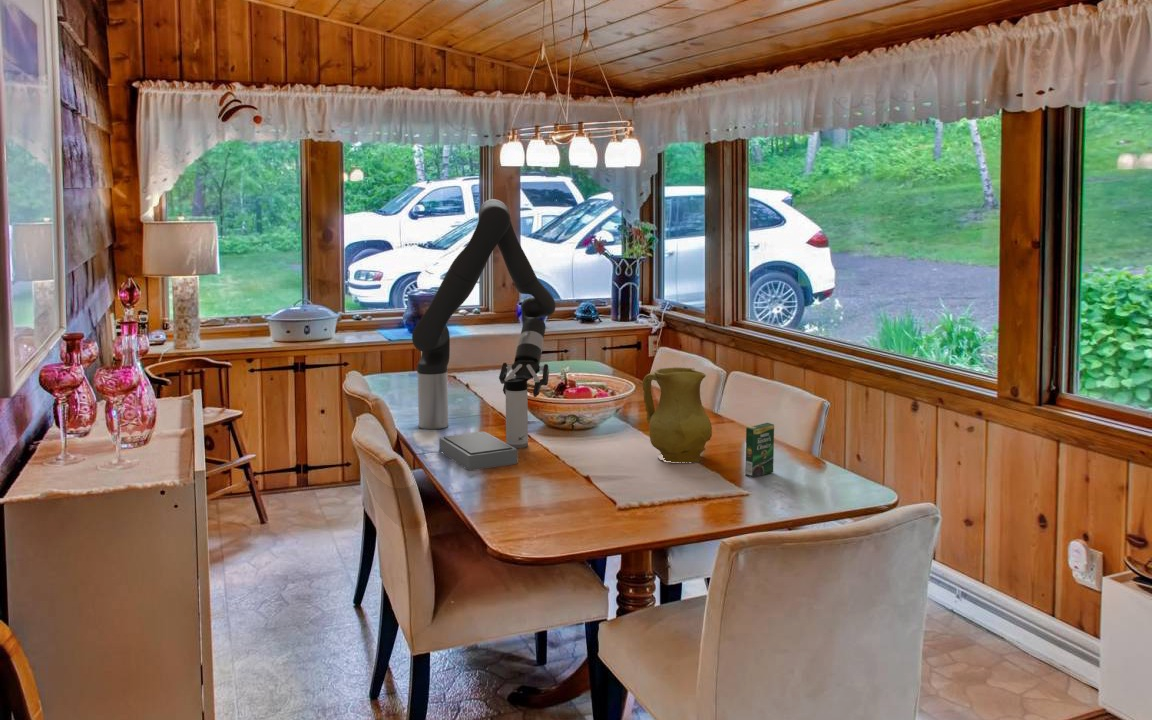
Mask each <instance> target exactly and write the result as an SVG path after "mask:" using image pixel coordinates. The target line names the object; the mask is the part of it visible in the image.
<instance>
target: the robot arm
mask: <svg viewBox="0 0 1152 720" xmlns="http://www.w3.org/2000/svg"><path fill="white" fill-rule="evenodd" d="M511 219H512V218H511V215H510V211H509V208H508V206H507V205H506V204H505V203H504V202H503V201H502V200H499V199H497V198H496V199H495V198H491V199H487V200H485V201H484V202H483V203H482V204H481V205H480V208H479V211H478V221H477V225H476V227H475V229H474V232H473V233H472V236H471V237H470V240H469V242H468V243H467V245H466V246H465V247H464V248H463V249H462V250H461V251H460V252H459V254H458V255H457V256H456V257H455V258H454V260H453V261H452V263H451V265H450V266H449V268H448V270H447V272H446V274H445V275H444V277H443V280H442V281H441V283H440V285H439V287H438V289H437V291H436V292H435V294H434V297H433V299H432V301H431V303H430V304H429V306H428V308H427V309H426V310H425V312H424V314H423V315H422V317H421V318H420V319H419V321H418V322H417V324H416V325H415V327H414V328H413V331H412V336H411V339H412V340H411V341H412V344H413V347H414V348H416V350H418V351H420V352H421V357H420V359H419V361H418V362H417V366H416V370H417V371H416V373H417V405H418V406H417V407H418V408H417V410H418V415H417V416H418V427H419V428H421V429H426V430H437V429H438V430H439V429H444V428H447V427H449V389H448V388H449V387H448V386H449V383H448V365H449V364H450V363H449V362H450V355H451V353H450V351H451V349H450V345H451V344H450V343H451V341H450V340H451V339H450V330H449V328H448V326H447V324H448V321H449V320H450V318H451V317H452V316H453V315H454V313H455V312H456V311H457V310H458V309H459V308H460V307H461V306H462V305H463V304H464V302H465V301H466V300H467V299H468V297H470V295H471V293H472V292H473V290H474V288H476V285H477V283H478V281H479V280H480V277H481V275H482V273H483V271H484V269H485V267H486V264H487V262H488V261H489V258H490V257H491V254H492V253H493V251H494V249H495V248H496V246H497V248H498V249H499V251H500V254H501V255H502V256H501V257H502V258H503V261H504V264H505V267H506V269H507V271H508V275H509V276H510V278H511V279H512V281H513V284H514V286H515V288H516V290H517V291H518V293H519V294H521V295H530V296H528V297H526V298H524V299H523V300H522V302H521V305H520V313H521V321H522V327H521V332H520V336H519V339H518V342H517V346H516V351H515V356H514V361H513V363H512V364H507V362H503V363H502V365H501V369H500V372H499V375H498V379H499V382H500V384H502V385H503V386H502V387H503V388H502V392H503V394H504V396H505V397H506V381H508V380H509V379H514V378H528V381H530V380H531V379H532V381H533V382H534V385H533V390H532V395H533V398H537V396H539V395H540V391H541V388H542V386H547V385H548V384H549V374H550V368H549V365H548V364H547V363H545V364H544V365H541V364H540V363H541V359H542V354H543V349H544V339H545V333H546V327H547V326H546V323H545V321H544V320H543V319H541V318H545V317H549V316H552V315H553V314H555V313H554V312H555V311H556V302H555V299H554V297H553V295H552V294H551V292H550V291H548V289H547V288H546V287H545V286H544V285H543V283H541V281H540V280H539V279H538V277H537V275H536V273H535V270H534V268H533V266H532V265H531V262H530V261H529V259H528V257H527V256H526V254H525V251H524V249H523V248H522V246H521V244H520V242H519V240H518V238H517V234H516V233H515V230H514V227H513V224H512V220H511ZM511 370H512V371H511ZM510 371H511V372H510ZM540 371H541V373H542V378H539V376H538V375H537V374H538V373H539V372H540ZM508 374H509V375H508Z"/></svg>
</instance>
